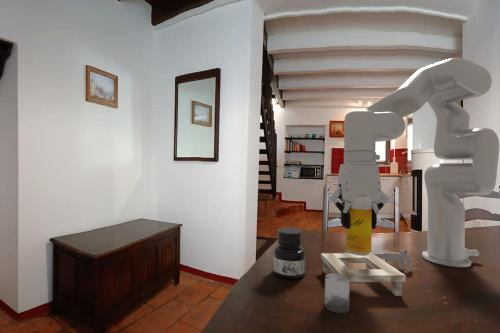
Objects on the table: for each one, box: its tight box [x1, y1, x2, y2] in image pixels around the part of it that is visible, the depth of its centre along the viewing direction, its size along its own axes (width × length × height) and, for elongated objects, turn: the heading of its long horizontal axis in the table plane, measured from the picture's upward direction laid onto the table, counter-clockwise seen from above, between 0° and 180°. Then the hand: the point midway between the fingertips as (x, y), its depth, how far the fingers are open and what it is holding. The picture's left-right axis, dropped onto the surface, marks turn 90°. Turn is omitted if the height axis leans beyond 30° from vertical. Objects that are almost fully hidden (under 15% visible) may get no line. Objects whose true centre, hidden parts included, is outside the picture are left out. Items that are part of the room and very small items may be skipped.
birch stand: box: [320, 252, 407, 297], centre depth 65 cm, size 15×15×5 cm
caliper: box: [344, 249, 413, 273], centre depth 79 cm, size 20×1×6 cm, turn 43°
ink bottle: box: [273, 227, 306, 280], centre depth 70 cm, size 10×9×12 cm
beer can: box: [345, 196, 373, 256], centre depth 65 cm, size 6×6×15 cm
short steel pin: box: [324, 273, 351, 314], centre depth 54 cm, size 5×5×6 cm
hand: (358, 227), depth 65 cm, fingers closed on beer can, 6 cm apart
